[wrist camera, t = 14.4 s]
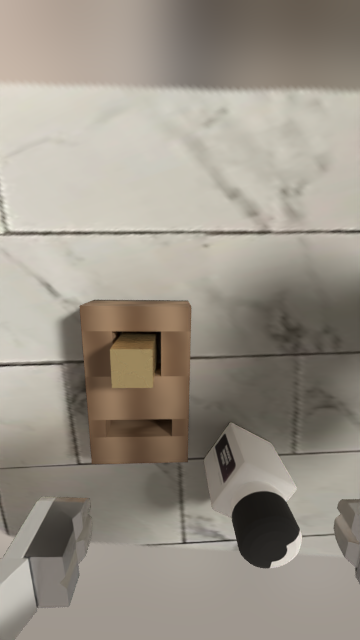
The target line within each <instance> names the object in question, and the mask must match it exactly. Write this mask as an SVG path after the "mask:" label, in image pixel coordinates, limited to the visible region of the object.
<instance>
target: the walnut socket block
mask: <svg viewBox="0 0 360 640" xmlns="http://www.w3.org/2000/svg"><path fill="white" fill-rule="evenodd" d="M80 318H81V331H82V344H83V357H84V369H85V382H86V395H87V408H88V420H89V433H90V446H91V459H92V464H120V463H168V462H188V423H189V381H190V339H191V305H190V303H189V302H188V301H170V300H93V301H90V302H88V303H85V304H83V305H81V306H80ZM123 331H157V363H156V370H155V377H154V384H153V388H112V380H111V361H110V348H111V347H112V346H113V344H114V343H115V342H116V340H117V339H118V338H119V336H120V335H121V334H122V333H123Z"/></svg>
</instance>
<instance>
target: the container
mask: <svg viewBox="0 0 360 640" xmlns="http://www.w3.org/2000/svg"><path fill="white" fill-rule="evenodd" d="M204 465H205V471H206V477H207V483H208V489H209V495H210V500H211V506H212V509H213V510H215V511H217V512H219V513H222V514H224V515H226V516H228V517H230V518H232V523H233V527H234V531H235V535H236V539H237V543H238V547H239V551H240V553H241V555H242V556H243V557H244V559H246V560H247V561H248V562H249V563H250V564H252V565H254V566H256V567H260V568H275V567H279V566H282V565H284V564H286V563H288V562H289V561H291V560H292V559H293V558H294V557H295V556H296V555H297V553H298V552H299V550H300V547H301V541H302V534H301V531H300V529H299V527H298V525H297V523H296V520H295V518H294V516H293V514H292V512H291V510H290V508H289V506H288V504H287V501H288V499H289V498H290V497H291V496H292V495H293V493H294V492H295V491H296V489H297V488H296V485H295V483H294V481H293V480H292V478H291V476H290V474H289V473H288V471H287V469H286V468H285V466H284V464H283V462H282V461H281V459H280V457H279V455H278V454H277V452H276V450H275V449H274V447H273V445H272V444H271V443H270V442H268V441H266V440H264V439H262V438H260V437H259V436H257V435H255V434H253V433H251V432H249V431H247V430H245V429H243V428H241V427H239V426H237V425H235V424H234V423H229V425H228V426H227V427H226V429H225V430H224V432H223V433H222V435H221V436H220V437H219V439H218V440H217V442H216V443H215V444H214V446H213V447H212V449H211V450H210V452H209V453H208V454H207V456H206V457H205V459H204Z"/></svg>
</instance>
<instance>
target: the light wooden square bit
mask: <svg viewBox="0 0 360 640" xmlns="http://www.w3.org/2000/svg"><path fill="white" fill-rule="evenodd" d="M110 361H111V380H112V388H153V384H154V377H155V370H156V363H157V331H123V333H122V334H121V335H120V336H119V338H118V339H117V340H116V342H115V343H114V344H113V346H112V347H111V348H110Z"/></svg>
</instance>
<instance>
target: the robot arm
mask: <svg viewBox="0 0 360 640" xmlns="http://www.w3.org/2000/svg"><path fill="white" fill-rule="evenodd" d="M90 507H91V505H90V498H70V497H41V498H40V499H39V500H38V501H37V502H36V503H35V505H34V507H33V508H32V510H31V512H30V513H29V515H28V517H27V518H26V520H25V522H24V523H23V525H22V526H21V528H20V530H19V531H18V533H17V535H16V536H15V538H14V540H13V541H12V543H11V545H10V546H9V548H8V550H7V551H6V553H5V554H4V556H3V558H0V640H15V639H16V637H17V636H18V635H19V633H20V632H21V631H22V630H23V628H24V627H25V626H26V624H27V623H28V622H29V621H30V619H31V618H32V617H33V615H34V614H35V613H36V611H37V608H53V607H69V606H70V603H71V600H72V597H73V593H74V590H75V587H76V584H77V581H78V578H79V566H78V564H79V563H80V562H81V561H82V559H83V558H84V557H85V556H86V553H87V550H88V546H89V543H90V538H91V533H92V517H91V516H90V515H89V514H88V513H89V510H90ZM337 509H338V510H339V512H340V515H339V516H338V517H337V518H336V519H335V521H334V533H335V538H336V540H337V543H338V545H339V548H340V550H341V551H342V553H343V555H344V557H345V558H346V559H347V560H348V561H349V562H350V563H352V564H353V565H354V566H355V571H356V578H357V580H358V581H359V583H360V499H342V500H340V501H339V502H338V507H337Z"/></svg>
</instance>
